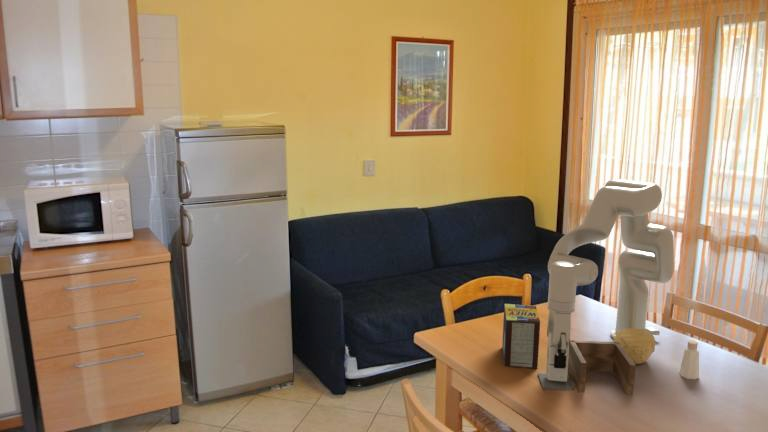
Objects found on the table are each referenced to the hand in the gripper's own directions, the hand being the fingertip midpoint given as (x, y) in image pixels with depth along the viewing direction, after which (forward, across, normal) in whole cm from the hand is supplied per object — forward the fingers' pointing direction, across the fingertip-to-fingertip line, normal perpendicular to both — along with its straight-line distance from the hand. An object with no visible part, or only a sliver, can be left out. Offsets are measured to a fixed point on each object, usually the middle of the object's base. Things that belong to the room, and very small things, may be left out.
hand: (557, 362), depth 181 cm
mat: (+6, 0, 0) cm, 6 cm away
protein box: (+7, -17, -9) cm, 20 cm away
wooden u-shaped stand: (+6, -2, +13) cm, 15 cm away
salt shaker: (+7, -9, +41) cm, 43 cm away
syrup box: (+5, 0, 0) cm, 5 cm away
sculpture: (+7, -19, +27) cm, 34 cm away
